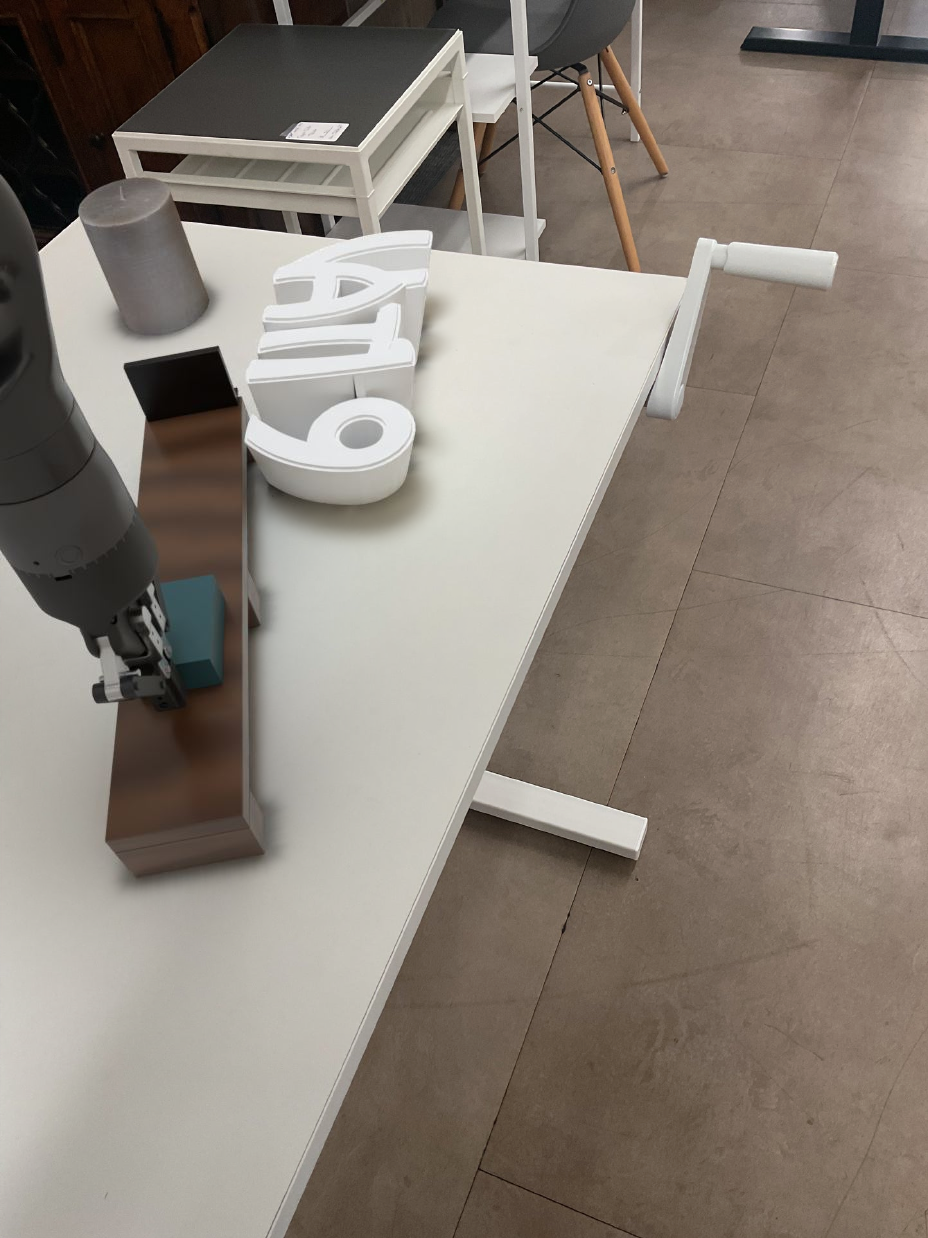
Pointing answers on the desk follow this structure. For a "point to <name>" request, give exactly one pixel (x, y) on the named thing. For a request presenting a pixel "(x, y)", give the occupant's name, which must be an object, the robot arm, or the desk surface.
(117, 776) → the shelf
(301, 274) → the white numeral sign
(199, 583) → the teal rectangular block
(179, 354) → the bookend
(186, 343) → the desk surface
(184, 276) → the pillar candle
